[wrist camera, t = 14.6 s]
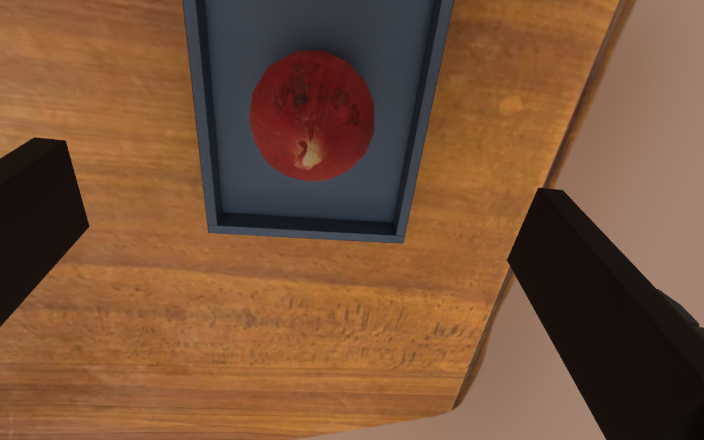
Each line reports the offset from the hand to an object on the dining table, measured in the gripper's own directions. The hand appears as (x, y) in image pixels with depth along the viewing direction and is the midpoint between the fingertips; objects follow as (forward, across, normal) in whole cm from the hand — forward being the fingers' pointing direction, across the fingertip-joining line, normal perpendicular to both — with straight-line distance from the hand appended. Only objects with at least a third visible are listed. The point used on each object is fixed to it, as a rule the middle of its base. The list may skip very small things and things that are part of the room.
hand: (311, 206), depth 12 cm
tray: (+13, 0, 0) cm, 13 cm away
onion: (+12, 0, 0) cm, 12 cm away
